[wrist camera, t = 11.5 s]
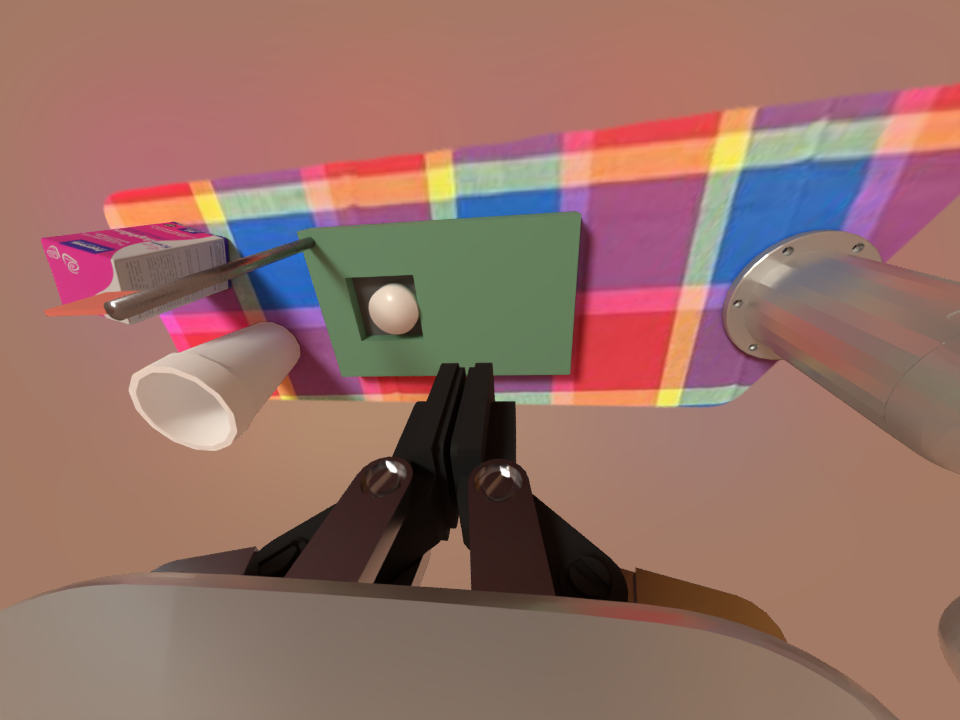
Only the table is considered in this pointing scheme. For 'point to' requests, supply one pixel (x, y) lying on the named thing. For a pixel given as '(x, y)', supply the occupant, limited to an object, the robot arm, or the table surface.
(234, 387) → the foam cup
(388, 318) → the cream rounded stone
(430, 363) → the putting mat
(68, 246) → the supplement box
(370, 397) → the table surface
